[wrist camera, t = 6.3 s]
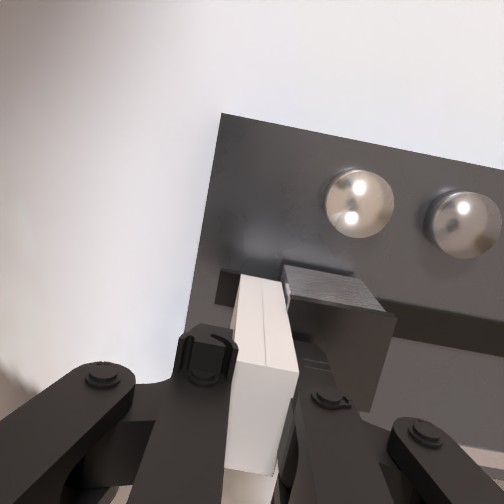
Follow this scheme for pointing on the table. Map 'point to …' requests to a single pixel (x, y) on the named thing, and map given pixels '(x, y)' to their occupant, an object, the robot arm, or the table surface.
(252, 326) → the robot arm
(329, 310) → the slider
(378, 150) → the console
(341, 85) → the table surface
